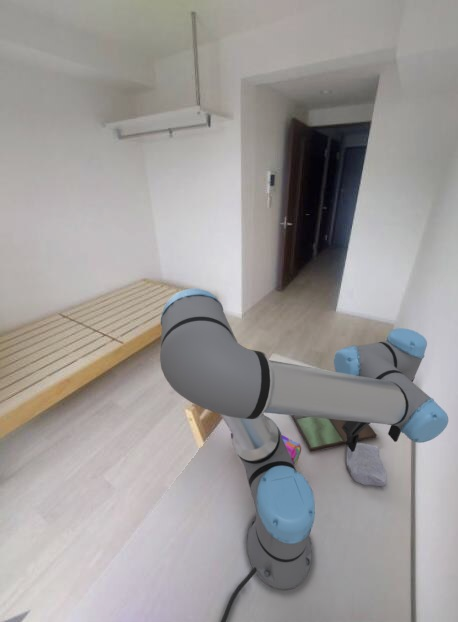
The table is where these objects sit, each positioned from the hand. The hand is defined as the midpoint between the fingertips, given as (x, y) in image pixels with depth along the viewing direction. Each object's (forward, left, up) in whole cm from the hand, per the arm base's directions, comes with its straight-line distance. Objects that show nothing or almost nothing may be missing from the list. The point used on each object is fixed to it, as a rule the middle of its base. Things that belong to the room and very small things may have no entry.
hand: (371, 442), depth 77 cm
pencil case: (-27, +12, -12) cm, 32 cm away
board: (-1, +20, -12) cm, 23 cm away
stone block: (0, 0, -12) cm, 12 cm away
